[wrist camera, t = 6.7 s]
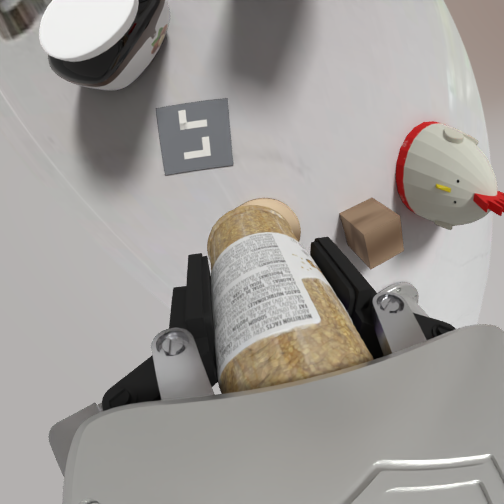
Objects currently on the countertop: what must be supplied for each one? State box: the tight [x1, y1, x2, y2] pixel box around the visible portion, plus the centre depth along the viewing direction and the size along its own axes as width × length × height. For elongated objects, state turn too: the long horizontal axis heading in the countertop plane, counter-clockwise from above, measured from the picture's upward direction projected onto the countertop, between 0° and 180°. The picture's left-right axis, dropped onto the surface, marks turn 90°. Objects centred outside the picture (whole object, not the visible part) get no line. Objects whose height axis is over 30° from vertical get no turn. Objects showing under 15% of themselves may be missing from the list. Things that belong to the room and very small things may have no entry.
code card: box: [156, 98, 233, 175], centre depth 25 cm, size 7×7×1 cm
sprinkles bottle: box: [207, 205, 373, 394], centre depth 9 cm, size 5×5×13 cm
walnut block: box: [339, 198, 404, 269], centre depth 31 cm, size 5×5×6 cm
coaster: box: [240, 198, 301, 242], centre depth 32 cm, size 9×9×1 cm
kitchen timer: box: [396, 121, 504, 230], centre depth 25 cm, size 14×14×15 cm
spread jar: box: [39, 0, 170, 90], centre depth 13 cm, size 12×11×12 cm
